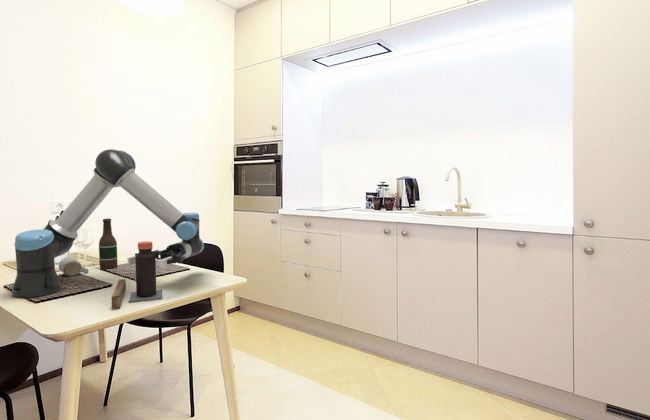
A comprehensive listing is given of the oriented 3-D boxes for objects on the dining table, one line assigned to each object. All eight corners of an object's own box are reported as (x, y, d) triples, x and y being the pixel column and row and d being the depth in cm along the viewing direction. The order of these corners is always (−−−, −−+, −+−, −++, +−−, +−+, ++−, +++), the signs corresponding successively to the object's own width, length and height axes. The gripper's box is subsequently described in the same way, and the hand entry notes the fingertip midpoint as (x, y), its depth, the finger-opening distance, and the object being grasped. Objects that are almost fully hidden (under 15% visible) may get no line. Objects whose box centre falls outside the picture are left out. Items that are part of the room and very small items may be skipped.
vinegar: (137, 293, 145) (135, 241, 143) (156, 291, 148) (155, 240, 146) (136, 298, 139) (134, 244, 137) (156, 296, 141) (155, 243, 140)
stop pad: (128, 302, 136) (128, 301, 136) (131, 293, 146) (131, 292, 146) (162, 299, 140) (162, 297, 140) (162, 290, 150) (162, 289, 150)
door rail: (111, 309, 129) (111, 296, 129) (119, 290, 149) (118, 279, 149) (119, 308, 130) (119, 295, 130) (126, 290, 150) (125, 279, 150)
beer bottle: (101, 266, 188) (99, 218, 186) (119, 265, 190) (117, 217, 188) (97, 269, 181) (95, 219, 178) (115, 269, 183) (114, 219, 181)
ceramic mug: (63, 278, 166) (63, 260, 166) (58, 274, 172) (58, 257, 171) (91, 274, 174) (90, 257, 173) (85, 270, 179) (85, 254, 179)
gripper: (204, 262, 159) (174, 275, 139) (152, 258, 165) (115, 270, 144) (204, 244, 159) (173, 254, 138) (152, 241, 164) (115, 250, 143)
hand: (144, 262), depth 141 cm, fingers open, 13 cm apart
